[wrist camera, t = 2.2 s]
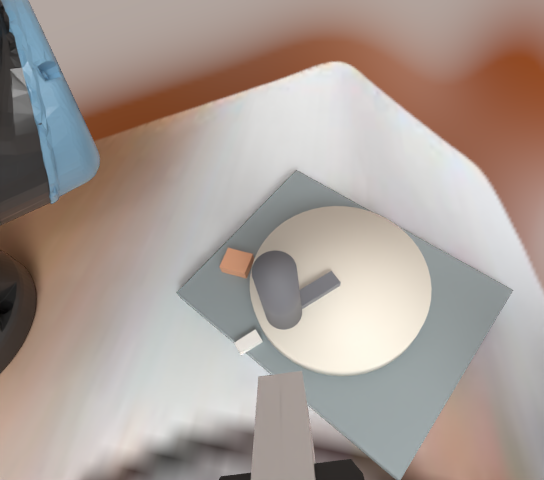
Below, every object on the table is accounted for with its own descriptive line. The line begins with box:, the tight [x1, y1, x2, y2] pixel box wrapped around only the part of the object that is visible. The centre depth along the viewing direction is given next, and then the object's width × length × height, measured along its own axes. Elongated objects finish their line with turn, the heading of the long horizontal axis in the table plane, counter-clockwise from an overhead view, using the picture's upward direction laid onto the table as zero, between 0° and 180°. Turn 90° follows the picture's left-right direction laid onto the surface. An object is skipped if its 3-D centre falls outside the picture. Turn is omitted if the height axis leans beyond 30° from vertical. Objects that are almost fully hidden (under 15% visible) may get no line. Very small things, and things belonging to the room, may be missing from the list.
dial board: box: [177, 170, 513, 480], centre depth 34 cm, size 22×18×2 cm
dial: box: [250, 206, 432, 376], centre depth 29 cm, size 14×14×9 cm
